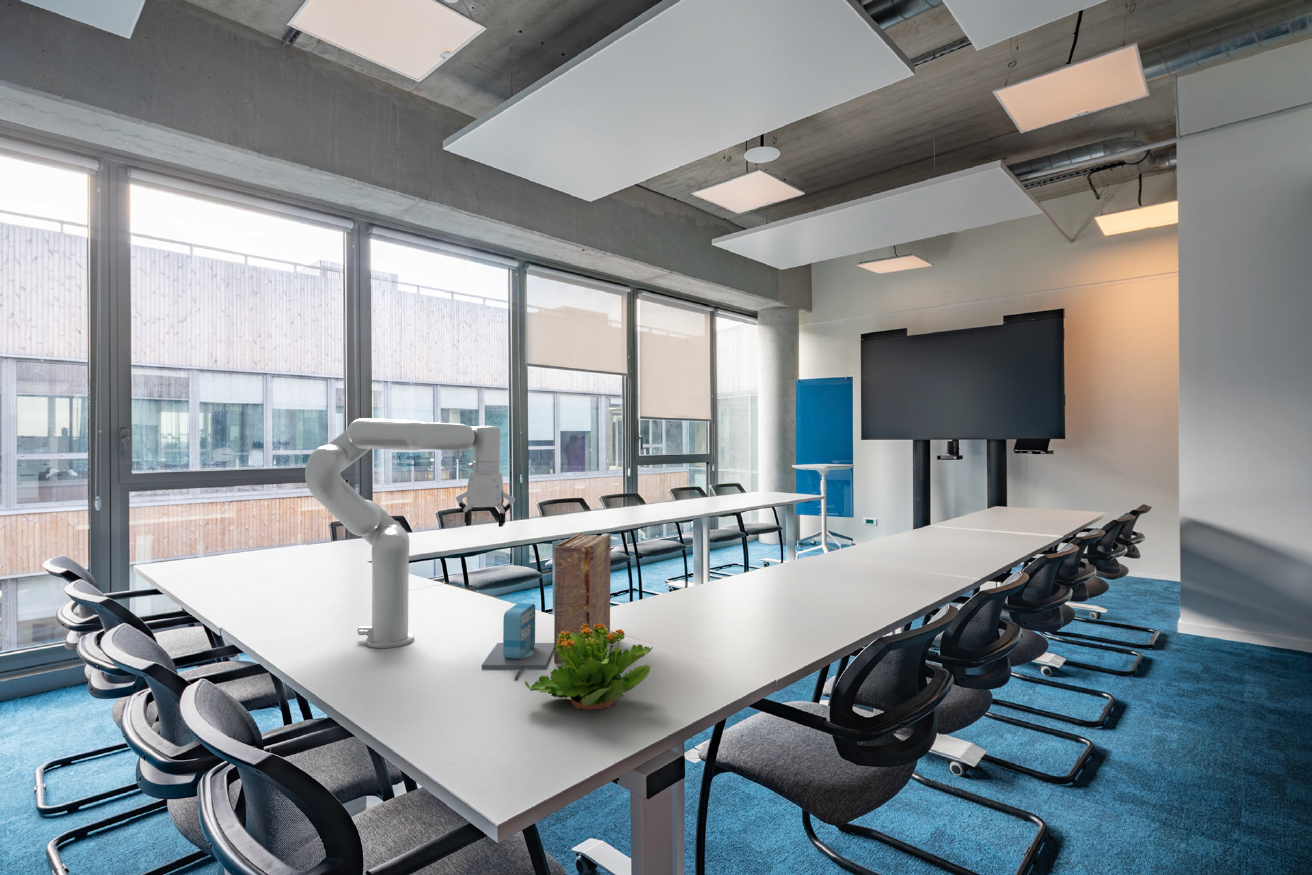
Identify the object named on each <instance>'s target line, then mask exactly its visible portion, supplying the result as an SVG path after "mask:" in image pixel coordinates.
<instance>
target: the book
mask: <svg viewBox="0 0 1312 875" xmlns="http://www.w3.org/2000/svg"><path fill="white" fill-rule="evenodd" d="M611 536H612V535H611V533H608V534H606V535H591V534H589V535H588V534H587V535H586V534H583V535H582V532H579V533H578V534H577V533H576V534H575V535H573V536H572V537H569V538H568V539H566V540H565V541H562V542H560V543H559V544H556V545H555V546H554V547H555V548H554V616H553V618H554V620H553V621H554V625H553V626H554V629H553V633H554V634H553V643H554V651H553V663H555V664H560V663H561V664H563V661H562V660H561V659H560V658H561V656H559V654H557V652H556V649H557V648H556V644H557V642H556V639H557V638H559V637H558V636H557V635H558V634H561V632H562V631H564V632H566V631H570V632H572V633H576V635H577V633H578V632H580V630H579V629H581V625H582V626H583V627H584V625H583V624H589V626H588V627H589V629H591V630H594V627H593V626H594V625H595V624H597V623H601V624H604V625H605V628H606V629H608V632H609V634H611V558H612V557H611V552H612V551H611V550H612V549H611V548H612V547H611V545H612V544H611V539H612V537H611ZM606 635H607V634H606ZM559 662H560V663H559Z"/></svg>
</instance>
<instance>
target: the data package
mask: <svg viewBox="0 0 1312 875" xmlns="http://www.w3.org/2000/svg"><path fill="white" fill-rule="evenodd" d="M502 627H503V630H502V631H503V636H502V637H503V638H502V639H503V640H502V643H503V656H504V658H510V659H522V658H523V657H524V656H525V655H526V654H527V653H528V652H529V651H530V650H531V649H533V647H534V645H535V643H536V605H535V603H532V602H531V603H529V602H528V603H527V602H518V603H516V604H515V605H514V606H512V607H510V608H509V609H507V610H506V611H505V612H504V614H503V626H502Z"/></svg>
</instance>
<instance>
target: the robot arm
mask: <svg viewBox="0 0 1312 875" xmlns="http://www.w3.org/2000/svg"><path fill="white" fill-rule="evenodd" d="M472 449H473V461H472V462H471V463H468V469H472V472H471V471H470V472H469V475H468V476H469V477H468V480H467V481H468V482H467V486H466V487H467V489H466V491H465V492H463V493H461V494H460V495H458V496H456V497H455V500H456V502H457V504H458V507H459V508H461V509H462V510H463V511H462V512H464V523H465V526H466V527H468V526H471V525H472V518H473V517H472V516H473V515H472V513H473V512H472V508H474V507H479V508H482V507H483V508H487V507H488V508H495V507H496V508H497V509H498V510H499V513H498V527H500V528H501V527H504V526H505V524H506V517H507V516H506V513H507V512H508V511H509V510H510V509H511V508H512V507H513V505H514V503H515V501H516V498H515V497H514V496H512V495H511V494H508V493H506V492H505V490H504V479H503V475H502V472H500V467H501V465H500V463H501V462H500V461H501V459H500V457H501V456H500V455H501V430H500V428H499V427H498V426H495V425H494V426H493V425H479V426H471V425H467V424H464V423H450V422H449V423H447V422H446V423H445V422H443V423H442V422H428V421H427V422H424V421H419V420H410V419H392V418H389V419H387V418H371V417H370V418H368V417H367V418H366V417H365V418H364V417H363V418H357V419H355V420H353V421H351V422H350V424H349V426H348V428H347V429H346V430H344V431H343V432H342V433H341V434H339V435H338V436H337V437H335V438H334V439H333V440H332V441H330V442H329V443H327V444H325V445H321V446H319V447H317V448H316V449H315V450H313V451H312V452H311V454H310V455H309V457H308V459H307V463H306V466H305V469H304V470H305V471H304V478H305V479H304V480H305V482H306V485H307V488H308V489H309V492H310V493H311V495H312V496H313V497H314V498H315V499H316V500H317V501H318V502H319V503H320V504H321V505H322V506H323V507H324V509H326V510H327V511H328V512H329V513H330V514H331V515H332V516H333V517H334V518H335V519H336V520H337V521H339V523H340V524H342V525H343V526H344V527H345V528H346V530H348V531H349V533H351V534H353V535H354V536H356V537H362V538H363V539H364V540H365V541H366V542H367V543H368V544H370V545H371V625H370V626H358V628H357V634H358V635H359V636H367V637H366V638H365V645H366V646H367V647H370V648H376V649H389V648H397V647H401V646H405V645H407V644H410V643H412V642H413V641H414V640H415V635H414V634H413V633H412V632H409V576H410V574H409V572H410V570H409V565H410V564H409V562H410V561H409V560H410V559H409V558H410V537H409V536H410V535H409V534H408V532H407V531H406V529H405V528H404V527H402V525H400V524H399V523H398V522H397V521H396V520H395V519H394V518H393V517H392V516H391V515H390V514H389V513H388V512H387V511H386V510H385V509H384V508H382V507H381V505H379V504H378V503H377V502H375V501H373V500H369V499H365V498H364V497H363V496H361V495H360V494H359V493H358V492H357V491H356V490H355V489H354V488H353V487H352V486H351V485H350V484H349V483H348V482H347V481H346V480H344V478H343V477H342V474H341V473H342V472H343V471H345V470H346V469H347V468H349V467H350V466H351V465H352V464H354V463H355V462H356V461H357V460H359V459H360V458H361V457H362V456H364V455H366V453H368V452H369V451H370V450H395V451H397V450H398V451H400V450H401V451H419V450H438V451H440V450H441V451H467V450H472ZM463 499H466V500H465V501H466V503H464V500H463ZM504 499H506V500H507V501H508V502H507V504H506V505H504Z"/></svg>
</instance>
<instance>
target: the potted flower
mask: <svg viewBox="0 0 1312 875" xmlns="http://www.w3.org/2000/svg"><path fill="white" fill-rule="evenodd" d="M583 625H584V627H583V626H582V625H581V629H579V630H580V632H578V633H577V635H576V633H572V632H570V631H566V632H564V631H562V632H561V634H558V635H557V636H558V637H559V638H557V639H556V642H557V644H556V648H557V649H556V652H557V654H559V656H561V658H560V659H561V660H562V661H563V663H560V662H559V663H558V664H560V665H558V667H557V668H553V669H552V670H551V672H550V677H549V676H548V675H546V676H545V675H541V676H540V677H539V679H538V680H537V681H535V682H534V683H533V684H532V685H531V686H530V685H529V683H528V682H527V680H525V681H524V685H525V686H526V688H528V689H529V690H530V691H532V692H533V691H538V693H547V694H548V695H550V696H551V697H553V698H558V699H568V698H570V702H571V704H572V705H573V706H574V707H575V708H577V709H582V710H588V711H589V710H601V709H605V708H608V707H610V706H613V704H614V703H615V701H616V700H618V699H620V698H622V697H623V696H624V693H626V692H628V691H630V690H632V689H634V688H635V687H636V686H638V685H639V684H640V683H642V682H643V681H644V679H646V678H647V676H649V673H650V671H651V668H652V666H651V665H650V664H649V665H648V664H644V665H639V666H638V667H637V666H636V667H634V668H633V669H630V671H628V672H626V673H625V674H624V675H623V676H622V673H623V672H624V671H625V670H627V668H628V667H630V666H632V665H633V664H634V663H635V662H637V661H638V660H639V659H641V658H643V657H644V656H647V655H648V654H649V653H651V651H652V650H653V648H654V646H652V647H650V646H643V644H637V645H636V644H632V646H631V648H630V650H629V649H624V650H623V651H622V649H621V648H620V646H619V644H620V642H622V640H625V637H626V636H625V635H626V633H625V630H623V629H620V628H619V629H616V630H615V631H610V634H609V632H608V629H606V628H605V625H604V624H601V623H597V624H595V625H594V626H593V627H594V630H591V629H589V627H588V626H589V624H583ZM606 634H607V635H606ZM615 643H617V645H616V648H615V649H613V648H614V647H615ZM609 644H610V647H608V645H609Z"/></svg>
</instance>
